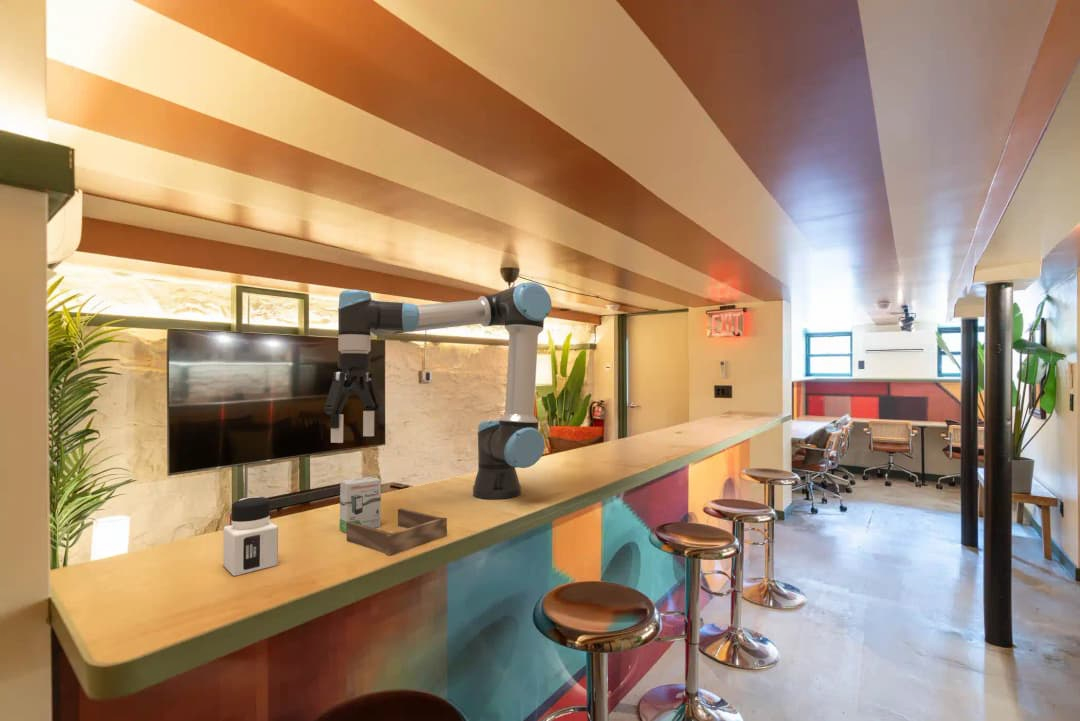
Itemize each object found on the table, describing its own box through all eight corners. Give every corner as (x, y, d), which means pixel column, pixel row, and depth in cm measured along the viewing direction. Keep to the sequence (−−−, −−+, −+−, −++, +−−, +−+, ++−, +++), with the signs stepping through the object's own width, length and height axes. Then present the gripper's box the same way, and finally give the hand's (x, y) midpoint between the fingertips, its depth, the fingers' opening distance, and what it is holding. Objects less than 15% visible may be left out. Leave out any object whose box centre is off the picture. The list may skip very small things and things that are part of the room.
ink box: (346, 534, 116) (346, 483, 116) (338, 529, 120) (339, 480, 120) (381, 526, 121) (381, 478, 122) (373, 522, 125) (373, 475, 126)
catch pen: (402, 524, 123) (402, 507, 124) (446, 535, 114) (446, 517, 114) (344, 541, 111) (344, 523, 111) (388, 555, 101) (388, 536, 101)
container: (278, 565, 96) (279, 498, 97) (233, 577, 91) (234, 506, 91) (265, 555, 102) (266, 492, 102) (222, 566, 96) (223, 499, 97)
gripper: (367, 355, 135) (367, 433, 134) (307, 350, 110) (306, 445, 109) (393, 355, 133) (392, 433, 132) (337, 349, 109) (336, 446, 108)
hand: (353, 439), depth 121 cm, fingers open, 13 cm apart
